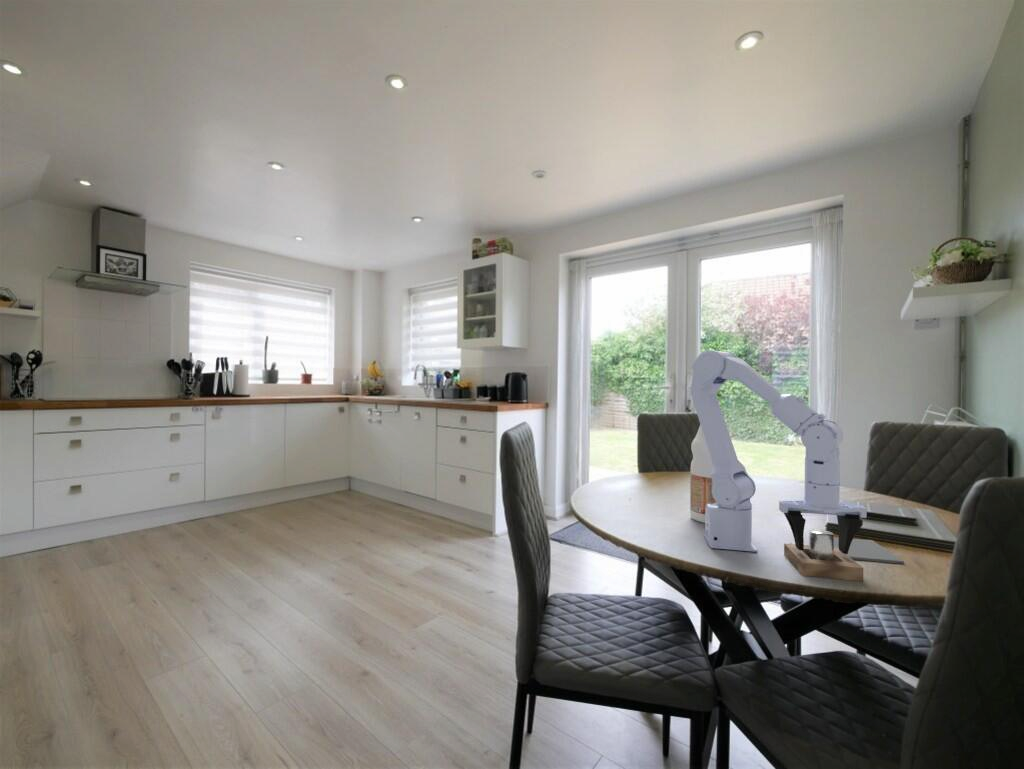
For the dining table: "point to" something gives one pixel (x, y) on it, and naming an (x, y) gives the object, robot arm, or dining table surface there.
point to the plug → (821, 545)
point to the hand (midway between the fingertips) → (821, 550)
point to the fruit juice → (700, 478)
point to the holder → (824, 564)
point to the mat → (869, 551)
